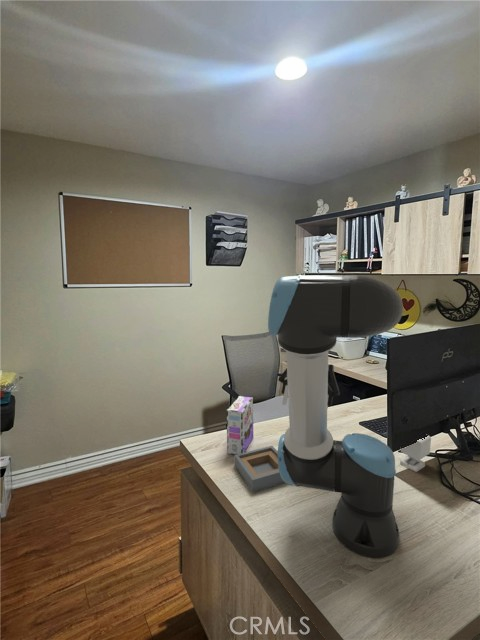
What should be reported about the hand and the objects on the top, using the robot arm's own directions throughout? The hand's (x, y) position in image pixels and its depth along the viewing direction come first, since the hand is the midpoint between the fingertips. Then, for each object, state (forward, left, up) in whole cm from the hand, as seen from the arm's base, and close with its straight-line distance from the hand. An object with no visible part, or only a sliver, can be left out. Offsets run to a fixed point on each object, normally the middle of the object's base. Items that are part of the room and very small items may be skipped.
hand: (303, 409), depth 108 cm
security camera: (-17, -31, -18) cm, 40 cm away
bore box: (-1, +16, -18) cm, 24 cm away
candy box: (+17, +16, -18) cm, 29 cm away
